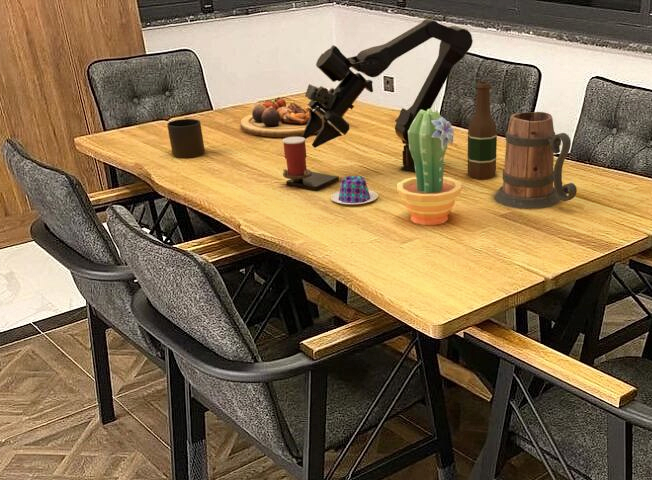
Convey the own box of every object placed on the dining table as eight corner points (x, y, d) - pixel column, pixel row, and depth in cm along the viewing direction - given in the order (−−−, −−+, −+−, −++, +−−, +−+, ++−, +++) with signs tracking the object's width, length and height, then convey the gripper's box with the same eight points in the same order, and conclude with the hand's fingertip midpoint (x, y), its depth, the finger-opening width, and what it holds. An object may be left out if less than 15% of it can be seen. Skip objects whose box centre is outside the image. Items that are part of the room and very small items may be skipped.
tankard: (480, 196, 212) (481, 115, 201) (526, 182, 221) (530, 104, 210) (548, 220, 197) (554, 134, 186) (595, 204, 206) (603, 121, 195)
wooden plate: (357, 121, 279) (356, 95, 275) (296, 143, 257) (293, 115, 252) (284, 110, 294) (282, 85, 289) (220, 130, 271) (216, 104, 267)
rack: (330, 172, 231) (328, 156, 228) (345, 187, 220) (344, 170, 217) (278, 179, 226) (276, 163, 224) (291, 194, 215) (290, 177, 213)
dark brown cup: (194, 146, 256) (189, 115, 251) (210, 154, 248) (205, 123, 243) (165, 151, 251) (159, 120, 247) (179, 160, 243) (173, 128, 238)
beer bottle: (493, 180, 223) (496, 86, 210) (465, 178, 224) (465, 85, 211) (497, 171, 229) (500, 79, 216) (469, 170, 231) (470, 79, 218)
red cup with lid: (313, 171, 221) (310, 138, 216) (299, 177, 217) (295, 143, 212) (295, 168, 224) (292, 135, 219) (281, 174, 219) (277, 140, 215)
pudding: (384, 193, 215) (383, 173, 212) (369, 208, 205) (367, 187, 202) (340, 190, 218) (339, 170, 215) (323, 205, 208) (321, 184, 205)
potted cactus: (406, 233, 191) (403, 120, 177) (390, 211, 203) (385, 105, 190) (470, 225, 194) (471, 115, 181) (450, 204, 207) (450, 99, 193)
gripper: (312, 66, 217) (275, 114, 220) (334, 79, 203) (294, 130, 205) (343, 94, 224) (307, 141, 227) (366, 109, 210) (327, 158, 212)
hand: (308, 142), depth 217 cm, fingers open, 9 cm apart
